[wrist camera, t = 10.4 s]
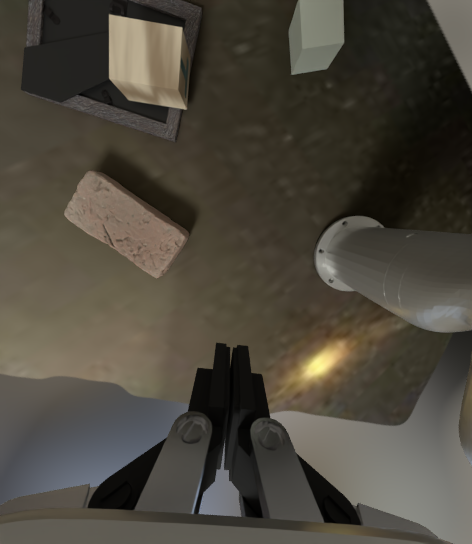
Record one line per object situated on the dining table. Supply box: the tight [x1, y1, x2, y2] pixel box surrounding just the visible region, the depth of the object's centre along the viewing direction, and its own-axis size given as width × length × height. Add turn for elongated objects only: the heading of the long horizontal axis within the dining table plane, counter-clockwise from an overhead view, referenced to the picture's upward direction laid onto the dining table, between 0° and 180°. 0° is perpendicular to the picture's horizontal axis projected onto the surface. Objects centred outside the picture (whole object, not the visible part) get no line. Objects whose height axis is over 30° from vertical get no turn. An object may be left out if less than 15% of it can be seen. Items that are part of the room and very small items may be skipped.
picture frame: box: [21, 0, 202, 142], centre depth 30 cm, size 16×2×21 cm
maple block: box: [109, 14, 191, 110], centre depth 28 cm, size 5×6×8 cm
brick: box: [64, 170, 189, 278], centre depth 34 cm, size 17×8×5 cm, turn 54°
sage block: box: [289, 0, 344, 75], centre depth 28 cm, size 5×5×5 cm
